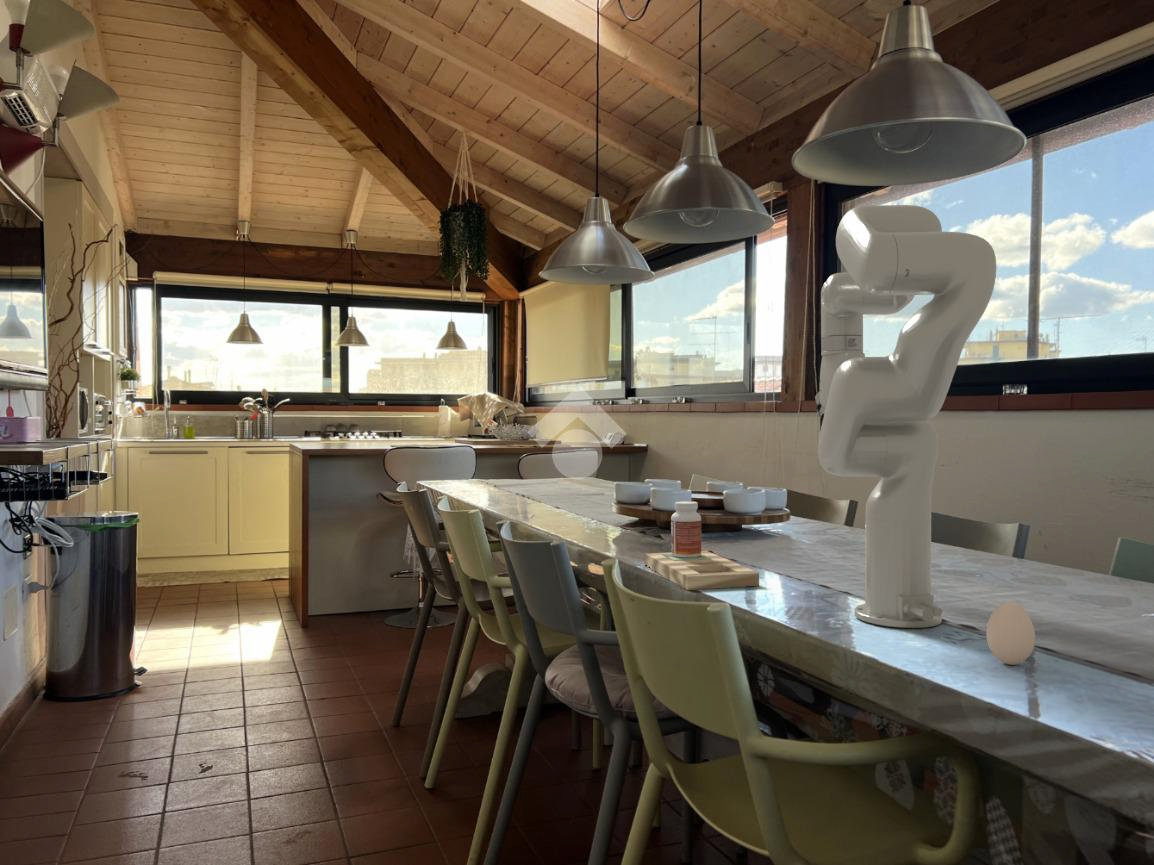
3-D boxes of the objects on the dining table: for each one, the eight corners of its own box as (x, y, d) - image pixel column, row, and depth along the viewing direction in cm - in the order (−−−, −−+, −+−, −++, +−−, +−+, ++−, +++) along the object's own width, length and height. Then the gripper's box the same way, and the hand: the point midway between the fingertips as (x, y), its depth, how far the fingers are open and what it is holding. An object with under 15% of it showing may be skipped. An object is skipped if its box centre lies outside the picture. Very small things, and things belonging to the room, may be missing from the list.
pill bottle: (707, 556, 171) (707, 502, 171) (684, 559, 167) (684, 504, 167) (687, 552, 176) (687, 500, 176) (665, 555, 173) (665, 501, 172)
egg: (988, 668, 104) (988, 605, 104) (984, 656, 109) (984, 596, 109) (1038, 672, 102) (1038, 608, 102) (1031, 660, 107) (1031, 599, 107)
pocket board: (759, 586, 154) (759, 571, 154) (687, 590, 151) (687, 575, 151) (706, 562, 180) (706, 549, 179) (644, 565, 176) (644, 552, 176)
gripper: (887, 342, 149) (888, 438, 149) (834, 352, 166) (834, 437, 166) (850, 341, 147) (851, 438, 147) (800, 351, 164) (800, 438, 164)
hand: (842, 438), depth 157 cm, fingers open, 9 cm apart
